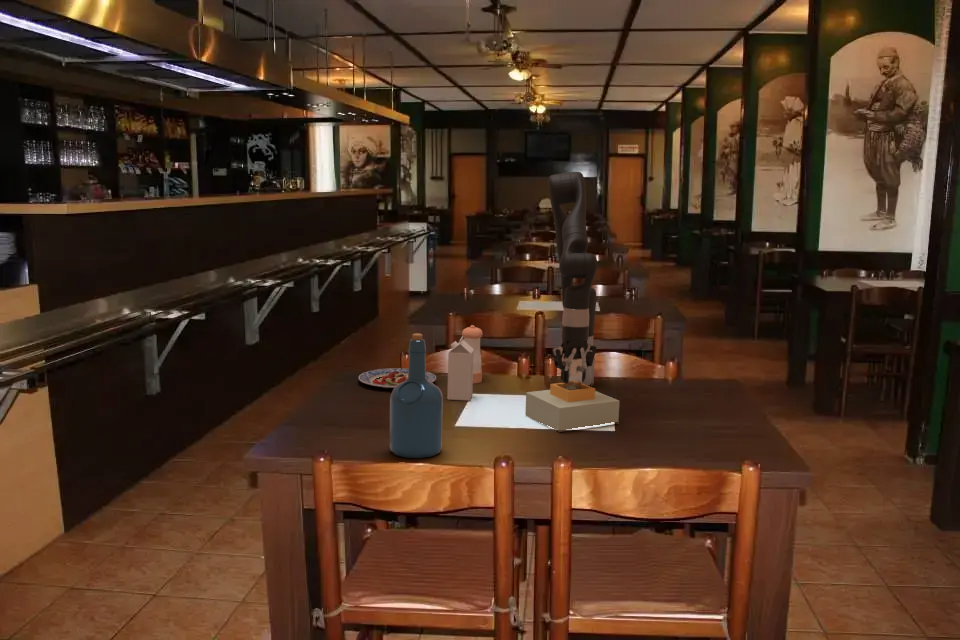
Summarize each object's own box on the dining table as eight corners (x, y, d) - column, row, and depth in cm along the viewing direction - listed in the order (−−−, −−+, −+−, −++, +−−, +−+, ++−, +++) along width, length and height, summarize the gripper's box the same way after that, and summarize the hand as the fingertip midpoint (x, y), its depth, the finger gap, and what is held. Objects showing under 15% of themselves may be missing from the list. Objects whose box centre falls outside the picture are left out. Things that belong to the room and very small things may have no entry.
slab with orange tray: (580, 407, 253) (582, 375, 251) (618, 424, 237) (620, 390, 235) (523, 414, 244) (525, 381, 242) (558, 432, 227) (560, 397, 226)
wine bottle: (401, 440, 217) (402, 327, 212) (449, 446, 214) (451, 331, 209) (380, 456, 204) (380, 337, 199) (431, 463, 201) (433, 341, 196)
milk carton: (472, 395, 264) (474, 336, 261) (470, 401, 257) (471, 340, 254) (450, 394, 265) (451, 335, 261) (447, 400, 258) (448, 339, 254)
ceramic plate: (385, 371, 295) (385, 362, 294) (449, 380, 283) (450, 371, 283) (342, 386, 272) (342, 377, 271) (410, 397, 261) (410, 387, 260)
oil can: (560, 390, 239) (561, 356, 238) (575, 388, 242) (576, 355, 240) (574, 396, 233) (576, 361, 231) (589, 395, 235) (590, 360, 234)
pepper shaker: (471, 377, 287) (473, 322, 284) (486, 381, 282) (487, 325, 279) (456, 380, 283) (457, 324, 279) (470, 384, 277) (471, 328, 274)
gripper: (588, 319, 242) (586, 377, 244) (547, 322, 235) (544, 381, 238) (604, 324, 235) (601, 382, 238) (561, 327, 228) (558, 387, 231)
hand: (572, 381), depth 238 cm, fingers closed on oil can, 5 cm apart
